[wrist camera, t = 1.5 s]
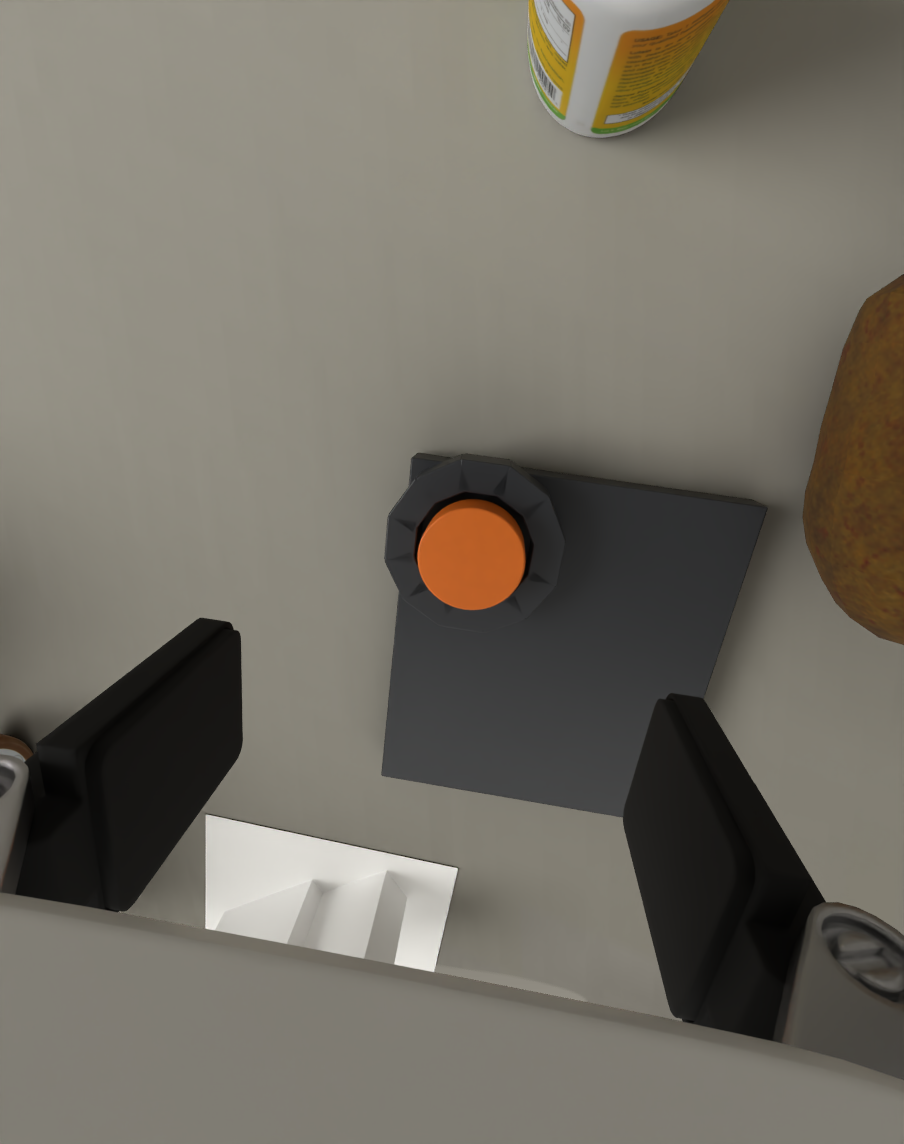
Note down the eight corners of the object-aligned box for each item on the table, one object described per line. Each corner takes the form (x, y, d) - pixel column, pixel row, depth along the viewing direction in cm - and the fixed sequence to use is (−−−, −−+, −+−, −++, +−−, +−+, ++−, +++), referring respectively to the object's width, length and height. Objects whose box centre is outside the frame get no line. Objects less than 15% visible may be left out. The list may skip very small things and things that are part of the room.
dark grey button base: (407, 440, 23) (393, 449, 20) (756, 488, 22) (793, 505, 19) (378, 756, 28) (364, 798, 26) (654, 803, 28) (670, 851, 25)
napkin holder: (205, 946, 35) (150, 1049, 30) (203, 813, 31) (139, 904, 26) (431, 995, 34) (416, 1109, 29) (458, 865, 30) (447, 970, 25)
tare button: (428, 491, 21) (422, 500, 19) (532, 506, 20) (534, 516, 19) (418, 587, 22) (411, 602, 21) (515, 602, 22) (516, 618, 20)
